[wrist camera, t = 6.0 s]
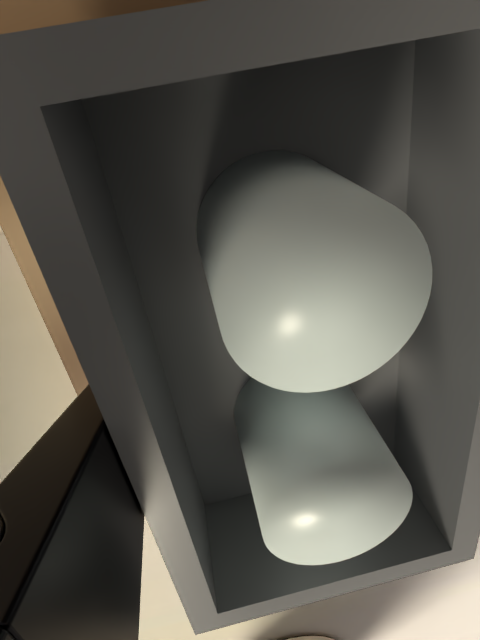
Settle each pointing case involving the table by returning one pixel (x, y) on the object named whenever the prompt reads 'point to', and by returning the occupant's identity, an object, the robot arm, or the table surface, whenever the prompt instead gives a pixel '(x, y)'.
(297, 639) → the milk bottle
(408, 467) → the tray
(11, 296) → the table surface
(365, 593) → the table surface
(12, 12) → the wooden l-shaped stand
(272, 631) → the table surface
